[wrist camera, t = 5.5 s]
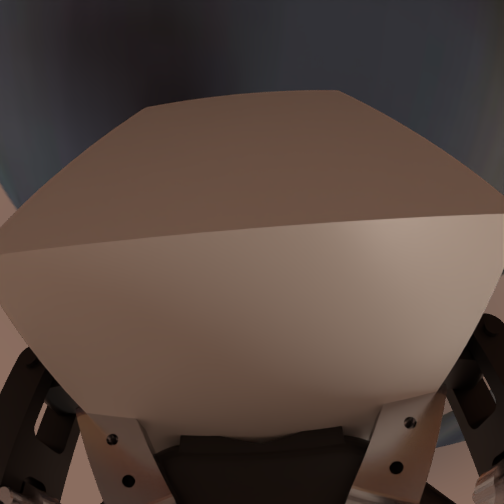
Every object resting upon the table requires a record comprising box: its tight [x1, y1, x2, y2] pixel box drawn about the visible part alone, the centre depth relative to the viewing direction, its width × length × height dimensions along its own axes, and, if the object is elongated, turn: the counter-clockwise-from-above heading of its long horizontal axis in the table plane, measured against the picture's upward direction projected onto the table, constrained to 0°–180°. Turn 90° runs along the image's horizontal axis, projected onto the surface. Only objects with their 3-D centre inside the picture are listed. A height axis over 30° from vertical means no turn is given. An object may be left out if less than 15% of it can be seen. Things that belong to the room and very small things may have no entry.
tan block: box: [0, 90, 504, 453], centre depth 10 cm, size 7×11×9 cm, turn 5°
